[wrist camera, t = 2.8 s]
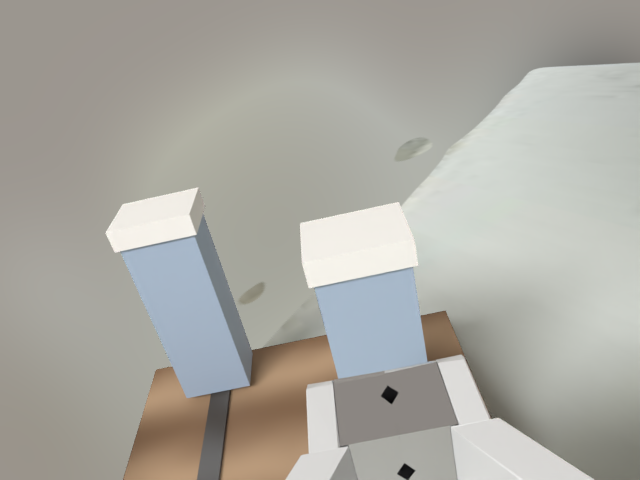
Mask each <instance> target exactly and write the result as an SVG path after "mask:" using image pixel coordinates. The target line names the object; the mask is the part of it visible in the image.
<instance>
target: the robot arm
mask: <svg viewBox="0 0 640 480" xmlns="http://www.w3.org/2000/svg"><path fill="white" fill-rule="evenodd" d="M306 400H307V424H308V448H309V454H304V455H301V456H300V458H299V459H298V461H297V462H296V464H295V465H294V467H293V468H292V470H291V471H290V473H289V475H288V476H287V478H286V479H285V480H594V479H593V478H591V477H590V476H588V475H587V474H585V473H583V472H582V471H580V470H579V469H577V468H576V467H574V466H573V465H571V464H570V463H568V462H567V461H565V460H564V459H562V458H560V457H559V456H557V455H556V454H554V453H553V452H551V451H550V450H548V449H547V448H545V447H544V446H542V445H541V444H539V443H537V442H536V441H534V440H533V439H531V438H530V437H528V436H527V435H525V434H524V433H522V432H521V431H519V430H518V429H516V428H514V427H513V426H511V425H510V424H508V423H507V422H505V421H504V420H502V419H501V418H494V419H491V418H490V415H489V413H488V411H487V408H486V406H485V404H484V401H483V399H482V397H481V394H480V392H479V390H478V387H477V385H476V383H475V380H474V378H473V376H472V373H471V371H470V369H469V366H468V364H467V362H466V359H465V357H463V356H462V355H456V356H451V357H447V358H442V359H437V360H436V361H429V362H424V363H419V364H414V365H410V366H405V367H400V368H395V369H390V370H385V371H381V372H375V373H369V374H363V375H357V376H351V377H346V378H340V379H334V381H333V380H332V381H326V382H320V383H314V384H308V385H307V389H306Z"/></svg>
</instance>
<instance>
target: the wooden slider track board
mask: <svg viewBox="0 0 640 480" xmlns="http://www.w3.org/2000/svg"><path fill="white" fill-rule="evenodd" d="M420 317H421V323H422V330H423V336H424V343H425V349H426V355H427V362H429V361H436V360H437V359H442V358H447V357H451V356H456V355H462V356H463V357H465V356H464V353H463V351H462V349H461V346H460V344H459V342H458V339H457V337H456V335H455V332H454V330H453V327H452V325H451V323H450V320H449V318H448V316H447V313H446V311H442V312H437V313H432V314H427V315H422V316H420ZM252 353H253V355H252V367H251V380H250V386H246V387H241V388H236V389H231V390H226V391H221V392H216V393H211V394H206V395H201V396H196V397H191V398H186V395H185V393H184V391H183V389H182V387H181V384H180V382H179V380H178V378H177V376H176V373H175V371H174V369H173V367H167V368H163V369H157V370H156V372H155V375H154V378H153V382H152V385H151V388H150V392H149V395H148V398H147V402H146V405H145V408H144V412H143V415H142V418H141V422H140V425H139V428H138V431H137V435H136V438H135V441H134V445H133V448H132V451H131V455H130V458H129V461H128V465H127V468H126V471H125V475H124V478H123V480H285V479H286V478H287V476H288V475H289V473H290V471H291V470H292V468H293V467H294V465H295V464H296V462H297V461H298V459H299V458H300V456H301V455H304V454H309V448H308V424H307V400H306V389H307V385H308V384H314V383H320V382H326V381H332V380H333V381H334V379H338V376H337V372H336V368H335V364H334V360H333V357H332V353H331V349H330V345H329V342H328V338H327V335H324V336H319V337H314V338H309V339H304V340H299V341H295V342H290V343H285V344H280V345H275V346H270V347H265V348H260V349H255V350H252ZM465 359H466V358H465ZM466 362H467V360H466ZM467 364H468V363H467ZM468 366H469V365H468ZM469 369H470V367H469ZM470 371H471V370H470ZM471 373H472V372H471ZM472 376H473V374H472ZM473 378H474V377H473ZM474 380H475V379H474ZM475 383H476V382H475ZM476 385H477V384H476ZM477 387H478V386H477ZM478 390H479V389H478ZM479 392H480V391H479ZM480 394H481V393H480ZM481 397H482V396H481ZM482 399H483V398H482ZM483 401H484V400H483ZM484 404H485V403H484ZM485 406H486V405H485ZM486 408H487V407H486ZM487 411H488V410H487ZM488 413H489V412H488ZM489 415H490V414H489ZM490 418H491V417H490Z"/></svg>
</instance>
